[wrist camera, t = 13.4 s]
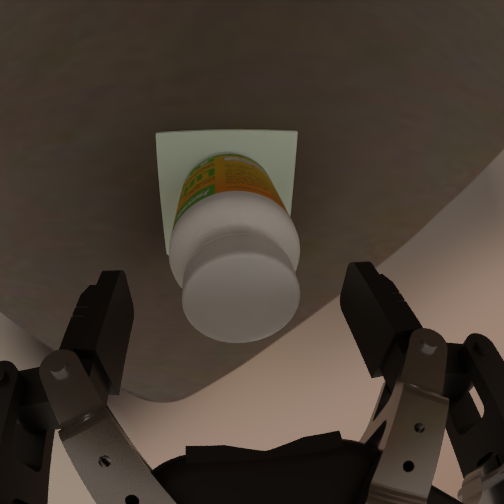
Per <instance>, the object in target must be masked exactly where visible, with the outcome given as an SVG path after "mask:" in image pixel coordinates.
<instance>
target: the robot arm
mask: <svg viewBox="0 0 504 504" xmlns="http://www.w3.org/2000/svg"><path fill="white" fill-rule="evenodd" d="M340 305H341V310H342V312H343V314H344V317H345V319H346V321H347V323H348V325H349V328H350V330H351V332H352V334H353V336H354V339H355V341H356V343H357V345H358V348H359V350H360V352H361V355H362V357H363V359H364V361H365V364H366V366H367V368H368V371H369V373H370V375H371V378H375V377H380V376H383V377H384V379H385V382H384V383H383V386H382V388H381V391H380V394H379V397H378V400H377V403H376V406H375V409H374V411H373V414H372V417H371V419H370V422H369V424H368V427H367V429H366V431H365V432H364V434H363V436H362V437H361V439H360V441H359V442H357V441H353V440H346V439H342V438H341V434H340V431H335V432H330V433H325V434H319V435H313V436H307V437H303V438H300V439H298V440H295V441H293V442H290V443H288V444H285V445H282V446H280V447H277V448H274V449H271V450H268V451H259V450H252V449H245V448H238V447H232V446H226V445H218V446H186V455H183V456H179V457H176V458H174V459H170V460H169V461H166V462H164V463H162V464H161V465H159V466H158V467H156V468H155V469H154V470H153V469H152V468H151V467H150V466H149V464H148V463H147V462H146V461H145V459H144V458H143V457H142V455H141V454H140V453H139V451H138V450H137V449H136V447H135V446H134V445H133V443H132V442H131V441H130V439H129V438H128V436H127V435H126V433H125V432H124V430H123V429H122V427H121V426H120V424H119V423H118V421H117V420H116V418H115V417H114V415H113V414H112V412H111V410H110V409H109V407H108V406H107V399H108V394H112V395H119V392H120V386H121V380H122V374H123V369H124V363H125V358H126V353H127V348H128V343H129V338H130V333H131V329H132V324H133V319H134V308H133V302H132V298H131V295H130V291H129V287H128V283H127V279H126V275H125V272H124V271H123V270H115V271H102V273H101V275H100V277H99V280H98V282H97V284H96V285H90V286H89V287H88V288H87V289H86V290H85V291H84V292H83V293H82V294H81V296H80V298H79V300H78V303H77V305H76V308H75V310H74V312H73V317H71V319H70V322H69V324H68V327H67V330H66V332H65V335H64V337H63V340H62V343H61V346H60V348H59V350H56V351H54V352H52V353H50V354H49V355H47V356H46V357H45V358H44V360H43V361H42V363H41V365H40V367H37V368H32V369H27V370H22V371H18V370H17V368H16V367H15V365H14V364H13V363H11V362H9V361H0V504H47V502H48V485H49V473H50V463H51V454H52V446H53V439H54V432H55V429H61V430H60V431H59V432H58V433H59V437H60V439H61V441H62V444H63V445H64V448H65V449H66V452H67V454H68V456H69V457H70V459H71V461H72V463H73V465H74V467H75V469H76V470H77V472H78V474H79V476H80V477H81V479H82V481H83V483H84V484H85V486H86V487H87V489H88V491H89V492H90V494H91V496H92V497H93V499H94V500H95V502H96V504H504V361H503V359H502V358H501V356H500V354H499V352H498V351H497V350H496V348H495V346H494V344H493V343H492V342H491V341H490V340H489V339H488V338H487V337H485V336H483V335H481V334H478V333H474V334H470V335H469V336H468V337H467V339H466V340H465V342H464V343H463V344H456V343H446V341H445V340H444V338H443V337H442V336H441V335H440V334H439V333H437V332H435V331H434V330H431V329H427V328H423V327H422V325H421V324H420V322H419V321H418V319H417V318H416V316H415V315H414V313H413V311H412V310H411V308H410V307H409V306H408V304H407V302H406V301H404V298H403V297H402V295H401V294H399V291H398V289H397V288H396V286H395V285H394V283H393V282H392V281H391V280H389V279H388V278H387V277H385V276H384V275H383V274H379V273H378V272H377V270H376V269H375V267H374V266H373V264H372V263H371V262H351V263H350V264H349V265H348V268H347V272H346V276H345V279H344V283H343V287H342V291H341V295H340ZM473 386H474V387H475V389H476V391H477V393H478V395H479V397H480V399H481V401H482V403H483V405H484V415H483V417H482V418H481V417H480V414H479V412H478V410H477V407H476V405H475V403H474V401H473V399H472V397H471V395H470V393H469V391H470V390H471V389H472V387H473ZM445 428H446V430H447V433H448V436H449V438H450V441H451V444H452V446H453V449H454V452H455V455H456V457H457V460H458V463H459V466H460V469H461V472H462V474H463V478H464V480H463V483H462V488H461V489H460V490H459V491H458V499H459V500H460V501H462V502H460V501H458V500H456V499H455V498H453V497H451V496H450V495H448V494H446V493H444V492H443V491H441V490H439V489H438V488H436V487H434V486H433V485H432V481H433V477H434V474H435V470H436V467H437V462H438V459H439V454H440V449H441V446H442V441H443V436H444V430H445Z"/></svg>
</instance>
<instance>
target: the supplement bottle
mask: <svg viewBox="0 0 504 504" xmlns="http://www.w3.org/2000/svg"><path fill="white" fill-rule="evenodd" d="M299 256H300V244H299V238H298V234H297V231H296V229H295V226H294V224H293V222H292V220H291V217H290V215H289V214H288V212H287V210H286V208H285V206H284V204H283V202H282V200H281V198H280V196H279V194H278V193H277V191H276V189H275V187H274V185H273V183H272V181H271V179H270V177H269V175H268V174H267V172H266V171H265V170H264V168H263V167H262V166H261V165H260V164H259V163H257V162H256V161H255V160H253V159H251V158H250V157H247V156H245V155H242V154H238V153H219V154H215V155H212V156H209V157H207V158H205V159H203V160H202V161H200V162H199V163H198V164H196V165H195V166H194V167H193V169H192V170H191V171H190V172H189V174H188V175H187V177H186V179H185V181H184V184H183V187H182V190H181V195H180V199H179V202H178V207H177V211H176V215H175V220H174V225H173V229H172V234H171V238H170V245H169V262H170V266H171V270H172V273H173V275H174V277H175V279H176V281H177V282H178V284H179V286H180V287H181V288H182V306H183V310H184V313H185V315H186V317H187V319H188V320H189V322H190V323H191V324H192V325H193V326H194V327H195V328H196V329H197V330H198V331H199V332H201V333H202V334H204V335H206V336H208V337H210V338H212V339H215V340H219V341H223V342H229V343H244V342H252V341H257V340H260V339H263V338H266V337H268V336H270V335H272V334H274V333H275V332H277V331H279V330H280V329H281V328H283V327H284V326H285V325H286V324H287V323H288V322H289V321H290V320H291V318H292V317H293V316H294V314H295V312H296V310H297V308H298V305H299V300H300V287H299V283H298V280H297V277H296V274H295V271H296V269H297V266H298V262H299Z"/></svg>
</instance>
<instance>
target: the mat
mask: <svg viewBox="0 0 504 504" xmlns="http://www.w3.org/2000/svg"><path fill="white" fill-rule="evenodd" d="M297 135H298V132H297V131H296V130H271V129H206V130H182V131H165V132H156V149H157V164H158V177H159V189H160V199H161V209H162V219H163V228H164V236H165V244H166V252H167V255H169V245H170V238H171V234H172V229H173V225H174V220H175V215H176V211H177V207H178V202H179V199H180V195H181V190H182V187H183V184H184V181H185V179H186V177H187V175H188V174H189V172H190V171H191V170H192V169H193V167H194V166H195V165H196V164H198V163H199V162H200V161H202V160H203V159H205V158H207V157H209V156H212V155H215V154H219V153H238V154H242V155H245V156H247V157H250V158H251V159H253V160H255V161H256V162H257V163H259V164H260V165H261V166H262V167H263V168H264V170H265V171H266V172H267V174H268V175H269V177H270V179H271V181H272V183H273V185H274V187H275V189H276V191H277V193H278V194H279V196H280V198H281V200H282V202H283V204H284V206H285V208H286V210H287V212H288V214H289V215H291V205H292V194H293V183H294V172H295V160H296V147H297Z"/></svg>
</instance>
